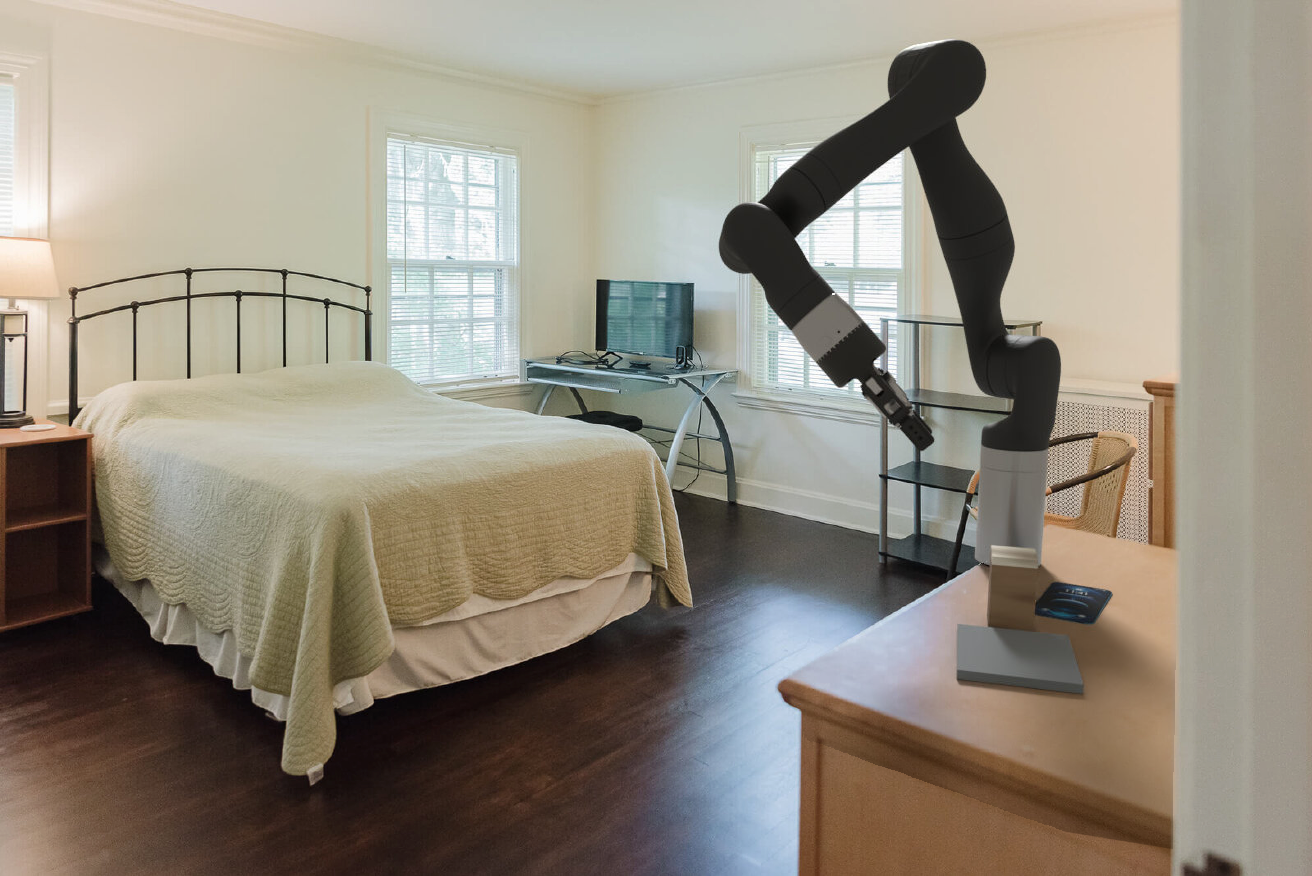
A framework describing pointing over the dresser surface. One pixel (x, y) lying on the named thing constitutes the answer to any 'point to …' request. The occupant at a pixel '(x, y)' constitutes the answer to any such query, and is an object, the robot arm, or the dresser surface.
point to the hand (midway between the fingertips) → (927, 441)
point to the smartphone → (1072, 602)
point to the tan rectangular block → (1012, 588)
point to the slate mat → (1017, 658)
